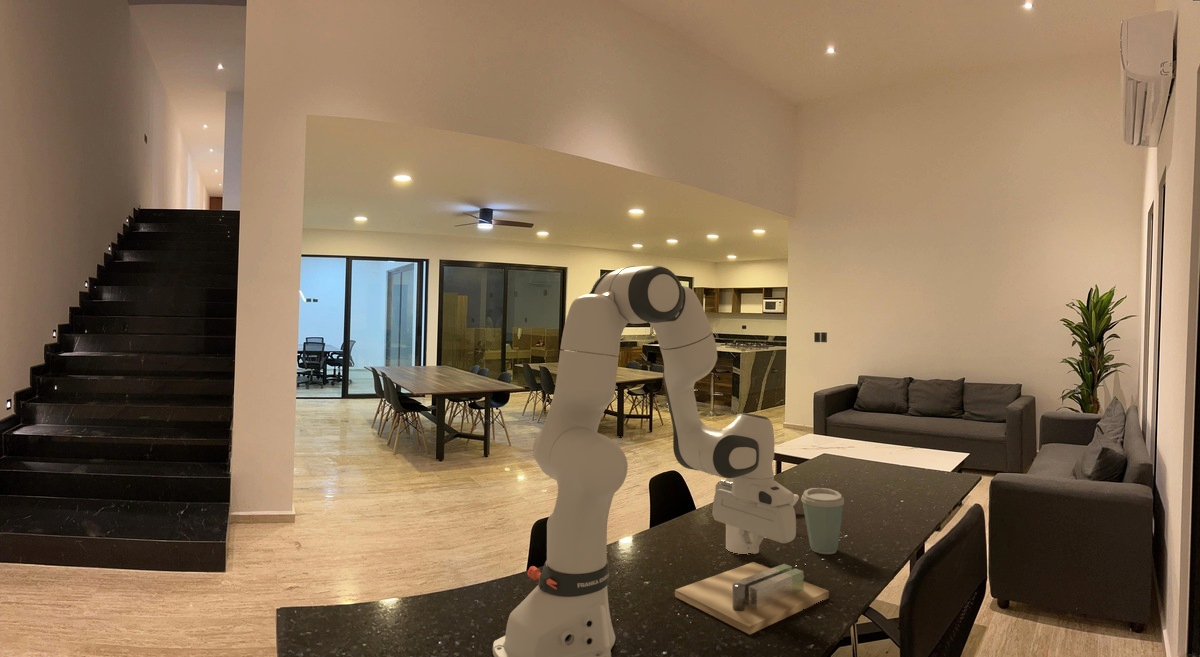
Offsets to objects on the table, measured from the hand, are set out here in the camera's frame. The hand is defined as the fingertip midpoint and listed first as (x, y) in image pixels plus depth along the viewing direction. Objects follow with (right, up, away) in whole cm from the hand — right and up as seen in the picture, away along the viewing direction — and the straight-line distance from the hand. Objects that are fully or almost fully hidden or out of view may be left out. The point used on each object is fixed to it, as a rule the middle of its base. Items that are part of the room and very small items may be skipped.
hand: (751, 551), depth 132 cm
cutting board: (0, -9, -2) cm, 9 cm away
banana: (+21, -9, +54) cm, 59 cm away
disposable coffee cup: (+25, -9, +26) cm, 37 cm away
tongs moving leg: (+1, -7, -5) cm, 9 cm away
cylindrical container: (+4, -9, +26) cm, 27 cm away
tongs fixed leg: (+4, -7, -6) cm, 10 cm away
